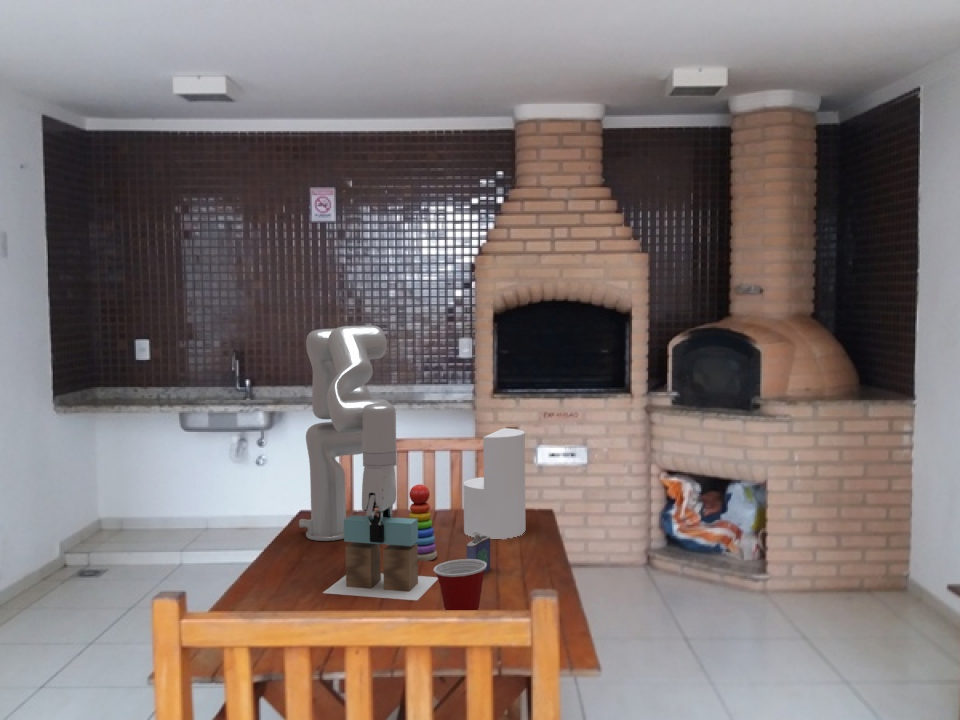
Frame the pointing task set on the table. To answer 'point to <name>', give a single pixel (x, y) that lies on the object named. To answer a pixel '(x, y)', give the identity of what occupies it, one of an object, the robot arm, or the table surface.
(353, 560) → the pillar left
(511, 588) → the table surface
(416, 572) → the pillar right
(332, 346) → the robot arm
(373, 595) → the board
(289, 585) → the table surface
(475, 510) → the cylinder
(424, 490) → the stacking toy
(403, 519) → the beam
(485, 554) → the flask
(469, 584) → the plastic cup
